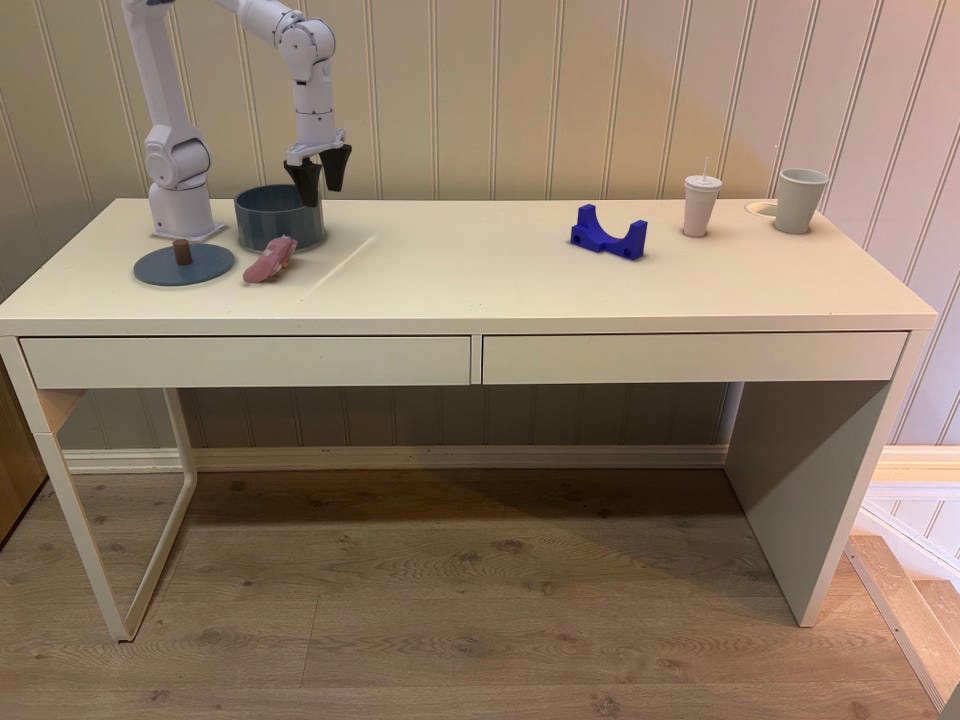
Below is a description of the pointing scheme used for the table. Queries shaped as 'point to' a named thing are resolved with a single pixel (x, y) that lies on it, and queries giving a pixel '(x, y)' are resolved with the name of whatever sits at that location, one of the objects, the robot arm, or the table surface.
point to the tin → (277, 216)
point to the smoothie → (699, 201)
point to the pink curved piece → (271, 259)
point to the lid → (183, 264)
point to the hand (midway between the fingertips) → (322, 198)
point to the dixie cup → (798, 198)
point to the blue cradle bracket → (607, 235)
